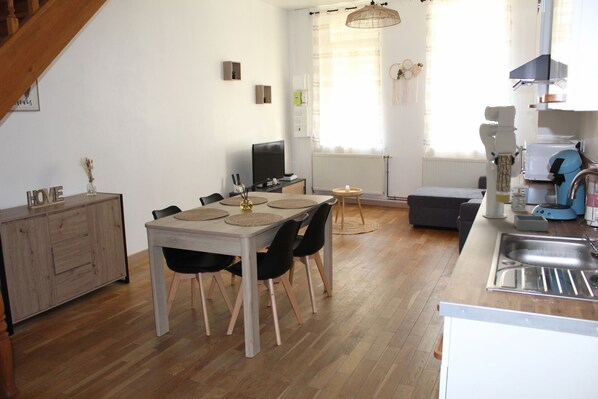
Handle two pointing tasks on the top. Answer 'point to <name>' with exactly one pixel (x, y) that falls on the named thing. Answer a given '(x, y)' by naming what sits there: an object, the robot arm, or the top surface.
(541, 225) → the box
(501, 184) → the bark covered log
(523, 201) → the french press
